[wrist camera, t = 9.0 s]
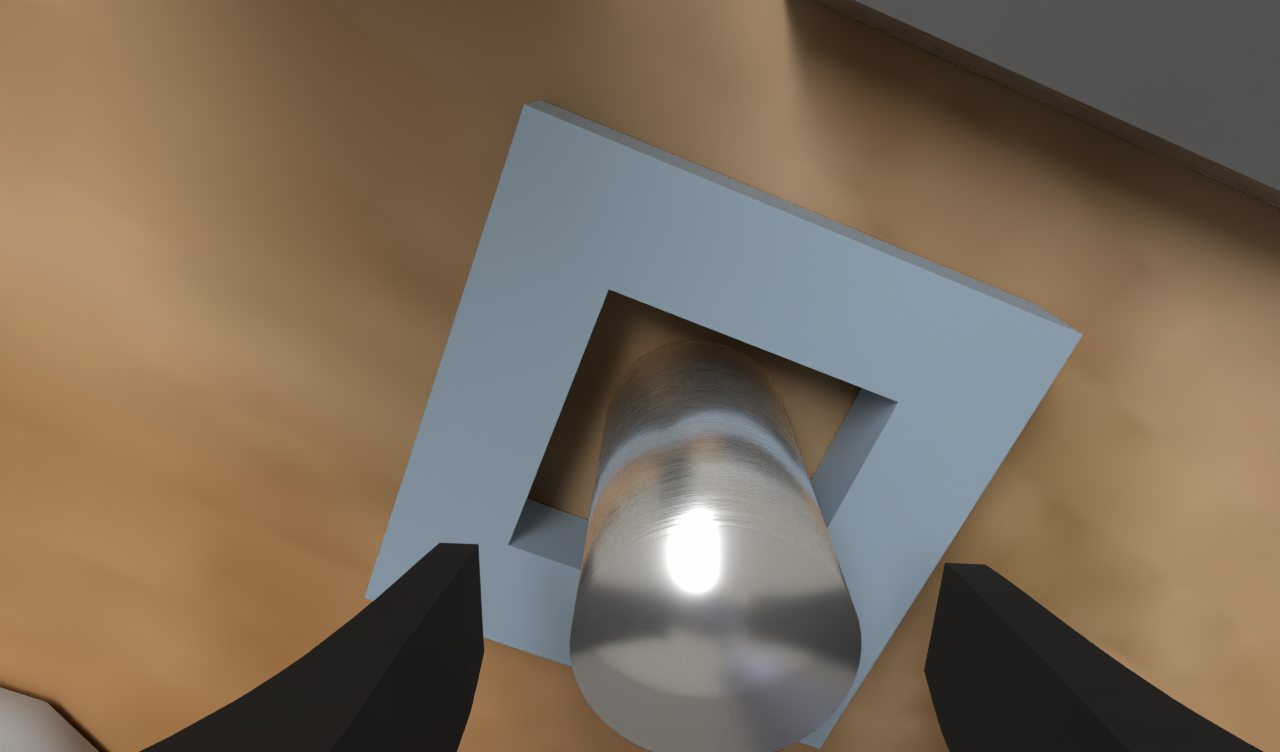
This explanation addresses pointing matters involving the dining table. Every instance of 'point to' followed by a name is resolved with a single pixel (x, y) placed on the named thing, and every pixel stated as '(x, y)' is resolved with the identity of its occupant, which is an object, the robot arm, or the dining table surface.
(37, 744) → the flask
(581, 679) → the steel peg
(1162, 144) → the socket block
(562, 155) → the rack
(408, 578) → the robot arm
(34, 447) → the dining table surface
